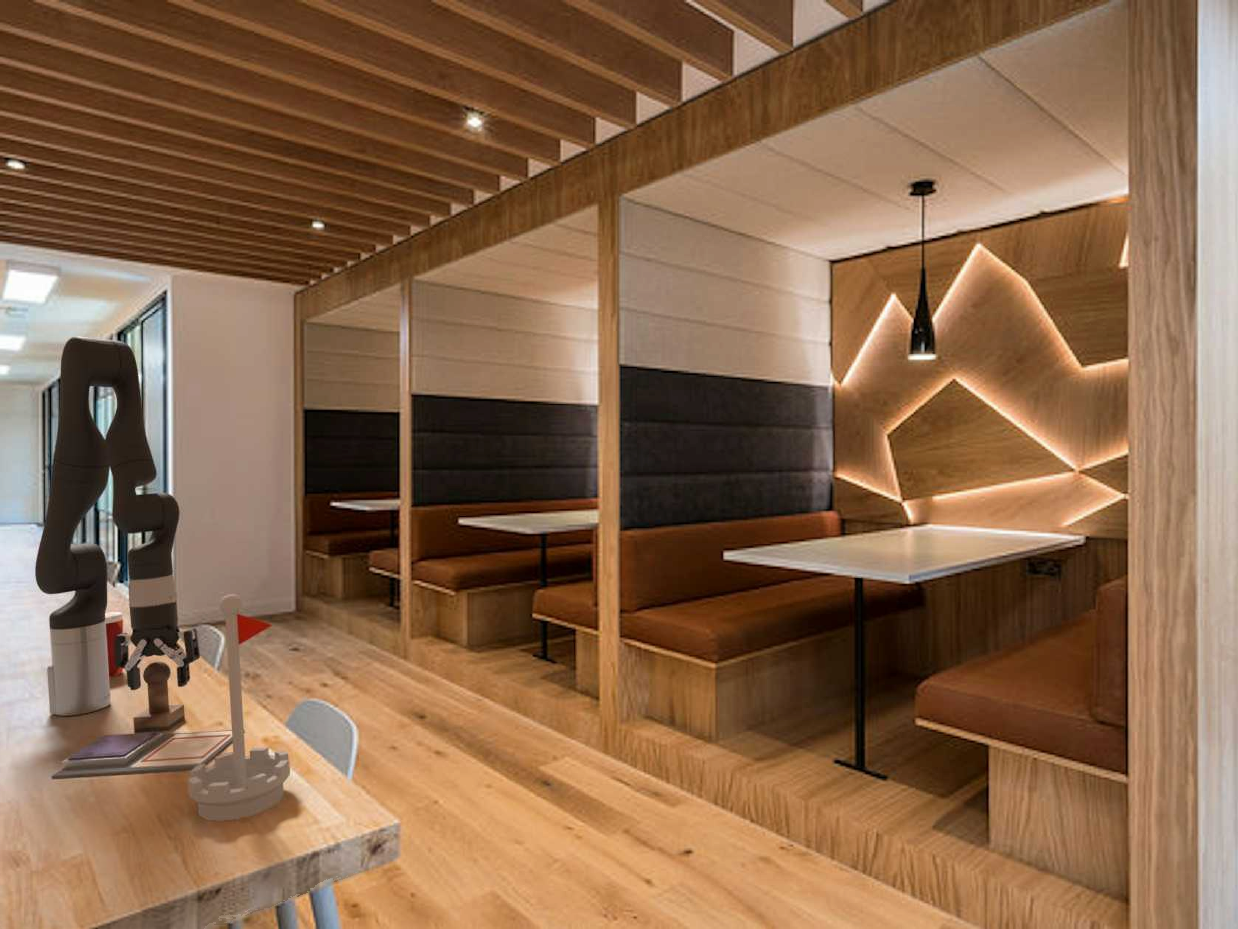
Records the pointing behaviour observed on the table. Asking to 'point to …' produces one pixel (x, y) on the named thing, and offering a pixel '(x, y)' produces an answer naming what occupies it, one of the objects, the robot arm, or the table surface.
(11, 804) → the table surface
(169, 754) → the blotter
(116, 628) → the paper cup
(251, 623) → the flag stand
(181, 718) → the stamp
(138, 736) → the ink pad
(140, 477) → the robot arm
